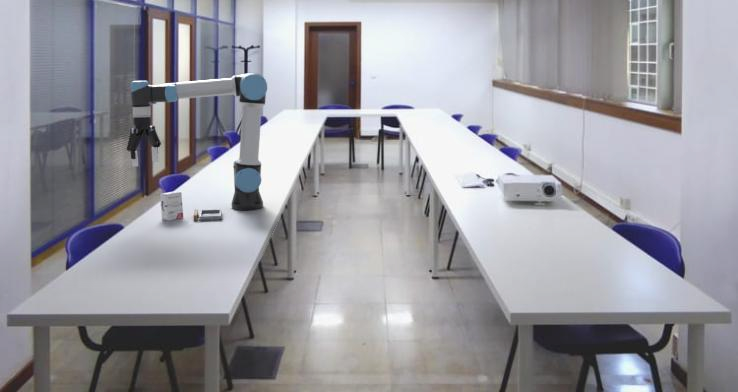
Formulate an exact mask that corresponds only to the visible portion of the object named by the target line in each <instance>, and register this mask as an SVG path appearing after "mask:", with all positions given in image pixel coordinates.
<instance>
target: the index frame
mask: <svg viewBox="0 0 738 392" xmlns="http://www.w3.org/2000/svg"><path fill="white" fill-rule="evenodd" d="M198 221H200V222H205V221H222V209H221V208H220V209H219V208H218V209H200V211H199V213H198Z"/></svg>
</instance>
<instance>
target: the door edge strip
mask: <svg viewBox="0 0 738 392" xmlns="http://www.w3.org/2000/svg"><path fill="white" fill-rule="evenodd" d="M192 217H193V222H197V221H198V220H199V209H194V212H193V216H192Z"/></svg>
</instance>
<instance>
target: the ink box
mask: <svg viewBox="0 0 738 392" xmlns="http://www.w3.org/2000/svg"><path fill="white" fill-rule="evenodd" d="M159 197H160V198H159V199H160V200H159V201H160V209H161V211H160V213H161V220H163V221H164V220H165V221H167V220H168V221H172V220H177V219H181V218H184V209H183V208H184V207H183V198H182V192H181V191H178V190H177V191H175V190H174V191H169V192H164V193H160V194H159Z"/></svg>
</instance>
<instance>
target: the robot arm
mask: <svg viewBox="0 0 738 392" xmlns="http://www.w3.org/2000/svg"><path fill="white" fill-rule="evenodd" d="M267 92H268V82H267V80H266V79H265V77H264V76H263V75H261V74H260V73H258V72H252V71H251V72H246V73H243V74H238V75H233V76H232V77H230V78H228V77H227V78H214V79H205V80H203V79H202V80H192V81H181V82H164V83H163V82H162V83H161V84H155V85H153V84H149V81H148V80H133V81H131V83H130V97H131V107H132V115H133V116H132V118H133V119H132V120H133V121H132V122H133V125H134V126H135V128H130V129H129V130H130V133H129V138H128V141H127V145H126V151H128V152H130V158H131V166H132V167H139V156H138V151H137V149H138V146H139V144H140V142H141V140H142V139H144V138H146V139H147V140H148V142H149V143H150V145H151V161H152V162H153V163H154V162H155V163H157V162H159V148H160V146H161V145H162V143H161V141H160V137H159V136H158V133H157V130H156V126H155V125H152V117H151V115H152V114H151V112H152V111H151V103H172V102H173V103H175V102H177V101H178V100H183V99H196V98H207V97H208V98H209V97H220V96H231V95H233V96H235V97H239V98H238V99H239V104H240V105H241V106H242V108H241V124H240V125H241V127H240V142H239V143H240V144H239V157H238V159H237V160H234V161H233V166H232V167H233V178H234V179H233V180H234V181H233V184H234V192H233V197H232V199H231V209H233V210H237V211H253V210H258V209H259V210H260V209H262V208H263V207H264V200H263V199H262V195H261V193H260V186H261V184H262V175H261V174H262V162H261V161H260V160H259V154H260V151H259V150H260V137H261V121H262V108H263V107H264V105H266V97H267Z"/></svg>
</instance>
